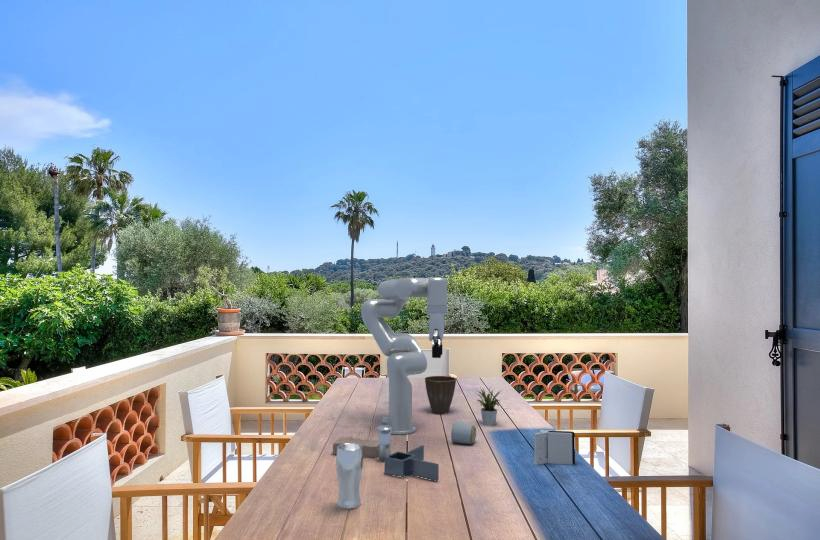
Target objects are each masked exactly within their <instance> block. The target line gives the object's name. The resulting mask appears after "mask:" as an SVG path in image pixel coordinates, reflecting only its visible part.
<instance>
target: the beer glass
mask: <svg viewBox="0 0 820 540" xmlns="http://www.w3.org/2000/svg"><path fill="white" fill-rule="evenodd" d="M363 458H364V457H363V456H362V445H360V444H357V443H345V444H341V445H339V446H338V447H337V455H336V458H335V465H336V475H337V482H338V499H337V506H339V507H338V508H340V507H341V508H340V509H342V508H346V509H345V510H352V509H351V508H354V509H357V508H359V507H360V506H361V496H360V486H361V480H362V476H363V475H362V474H363V473H362V472H363V467H364V466H363V464H364V463H363ZM358 506H359V507H358ZM356 507H357V508H356Z"/></svg>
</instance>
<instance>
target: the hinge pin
mask: <svg viewBox="0 0 820 540" xmlns="http://www.w3.org/2000/svg"><path fill="white" fill-rule="evenodd" d="M377 431H378V440H379V457H378V461H379V462H381V463H382V462H383V463H385V457H386V456H388V455H390V454H392V451H391V450H392V449H391V448H392V434H391V431H392V426H388V425H387V424H386V425H385V424H384V425H378V426H377Z"/></svg>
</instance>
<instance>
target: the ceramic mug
mask: <svg viewBox="0 0 820 540" xmlns="http://www.w3.org/2000/svg"><path fill="white" fill-rule="evenodd" d="M450 435H451V436H450V437H451V442H452V443H453V444H454V443H456V444H463V445H473V444H474V443H475V441H476V438H477V428H476V426H475V425H474V424H471V423H466V422H462V421H454V422H453V424H452V427H451V434H450Z"/></svg>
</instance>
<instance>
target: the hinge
mask: <svg viewBox="0 0 820 540" xmlns="http://www.w3.org/2000/svg"><path fill="white" fill-rule="evenodd" d="M575 440H576V435H575V432H574V431H572V430H559V429H558V430H555V429H547V430H546V429H540V430H539V432H536V433H535V432H534V434H533V441H534V442H533V443H534V445H533V447H534V451H533V454H534V465H535V466H538V465H543V464H551V465H552V464H553V465H554V464H556V465H568V466H569V465H570V466H571V465H576V441H575Z"/></svg>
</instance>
